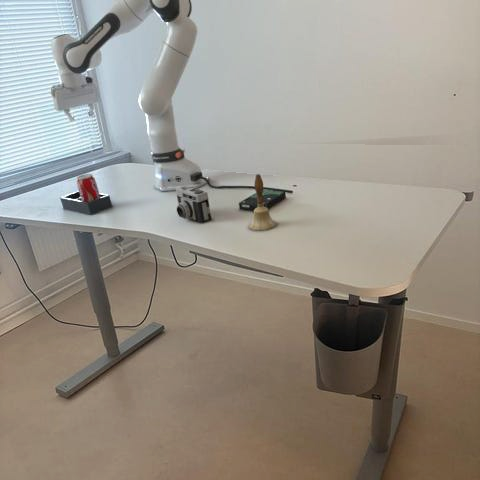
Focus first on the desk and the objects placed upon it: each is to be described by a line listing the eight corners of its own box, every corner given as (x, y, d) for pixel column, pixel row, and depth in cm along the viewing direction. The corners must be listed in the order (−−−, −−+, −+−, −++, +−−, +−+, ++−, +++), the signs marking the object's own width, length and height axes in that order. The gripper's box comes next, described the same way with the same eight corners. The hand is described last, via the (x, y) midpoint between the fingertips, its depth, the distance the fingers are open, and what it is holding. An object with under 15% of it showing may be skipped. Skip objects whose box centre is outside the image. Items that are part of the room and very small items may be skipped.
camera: (170, 218, 171) (165, 190, 166) (190, 211, 175) (185, 183, 170) (192, 227, 161) (186, 197, 156) (212, 219, 165) (208, 190, 160)
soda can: (97, 209, 188) (88, 178, 182) (81, 210, 190) (71, 179, 183) (105, 203, 194) (97, 172, 188) (89, 204, 195) (80, 174, 189)
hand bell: (257, 220, 159) (251, 170, 151) (280, 222, 155) (276, 171, 147) (244, 229, 153) (238, 178, 145) (268, 231, 149) (263, 179, 141)
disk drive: (264, 213, 164) (286, 198, 174) (263, 205, 162) (285, 190, 172) (239, 210, 169) (261, 196, 179) (238, 203, 168) (260, 188, 178)
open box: (112, 206, 192) (109, 194, 190) (90, 215, 186) (87, 203, 184) (84, 200, 204) (81, 189, 201) (63, 208, 198) (59, 197, 195)
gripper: (53, 85, 189) (64, 123, 196) (97, 77, 201) (106, 113, 208) (44, 86, 192) (56, 123, 200) (88, 77, 205) (97, 113, 212)
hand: (81, 118), depth 204 cm, fingers open, 8 cm apart
